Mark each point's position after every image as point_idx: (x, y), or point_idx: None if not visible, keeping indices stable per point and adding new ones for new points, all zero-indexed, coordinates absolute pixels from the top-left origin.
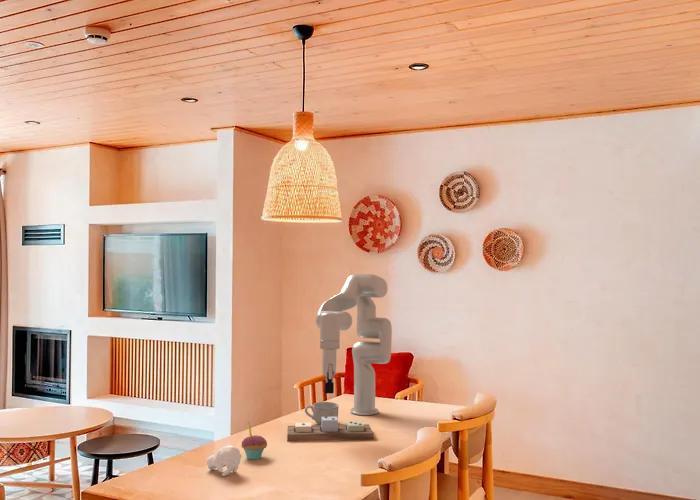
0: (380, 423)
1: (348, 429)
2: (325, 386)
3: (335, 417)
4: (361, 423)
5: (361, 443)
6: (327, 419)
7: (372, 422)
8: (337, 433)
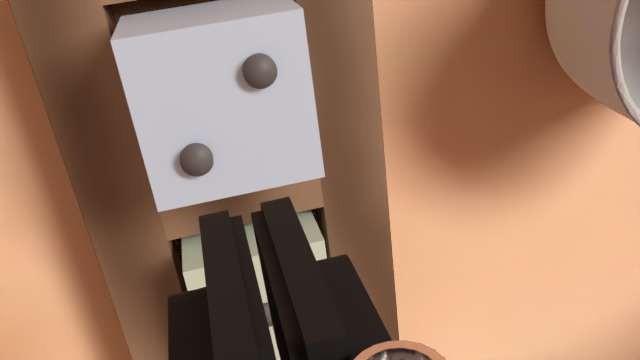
0: (564, 354)
1: (182, 254)
2: (208, 300)
3: (280, 170)
4: (276, 352)
5: (30, 329)
6: (170, 98)
7: (595, 308)
8: (69, 174)
